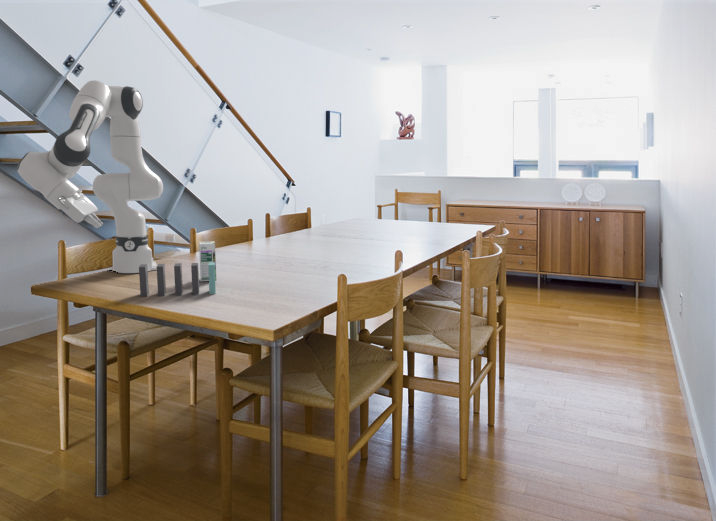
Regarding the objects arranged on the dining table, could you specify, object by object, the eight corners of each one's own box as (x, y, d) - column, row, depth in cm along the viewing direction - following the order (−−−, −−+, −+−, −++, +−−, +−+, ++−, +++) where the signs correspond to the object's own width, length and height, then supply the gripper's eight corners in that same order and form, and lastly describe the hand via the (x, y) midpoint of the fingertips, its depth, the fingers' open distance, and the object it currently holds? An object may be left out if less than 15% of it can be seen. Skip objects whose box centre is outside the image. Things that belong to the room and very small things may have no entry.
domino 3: (175, 295, 192) (174, 266, 190) (176, 292, 196) (175, 263, 195) (181, 295, 192) (180, 266, 190) (182, 291, 197) (181, 263, 195)
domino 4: (192, 294, 193) (191, 265, 191) (193, 291, 198) (192, 262, 196) (198, 294, 193) (197, 265, 191) (199, 291, 198) (198, 262, 196)
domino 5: (209, 294, 194) (208, 265, 192) (209, 290, 199) (208, 262, 197) (215, 293, 194) (214, 264, 193) (215, 290, 199) (214, 262, 197)
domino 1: (140, 296, 189) (138, 267, 187) (142, 293, 194) (141, 264, 192) (147, 296, 190) (145, 267, 188) (148, 293, 194) (147, 264, 193)
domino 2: (158, 296, 190) (156, 266, 189) (159, 292, 195) (158, 263, 193) (164, 296, 191) (162, 266, 189) (165, 292, 196) (164, 263, 194)
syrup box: (200, 282, 212) (199, 243, 209) (200, 278, 217) (198, 241, 215) (216, 281, 213) (215, 243, 211) (215, 278, 219) (214, 240, 216)
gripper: (63, 190, 171) (100, 222, 175) (79, 187, 191) (113, 216, 195) (48, 205, 171) (85, 237, 175) (66, 200, 191) (100, 229, 195)
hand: (100, 226), depth 185 cm, fingers closed
